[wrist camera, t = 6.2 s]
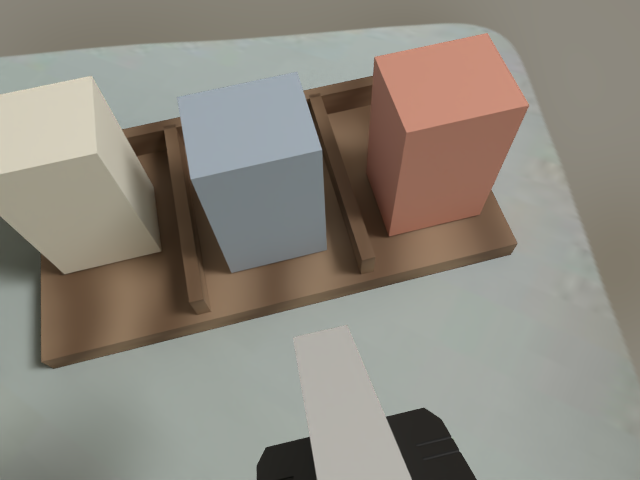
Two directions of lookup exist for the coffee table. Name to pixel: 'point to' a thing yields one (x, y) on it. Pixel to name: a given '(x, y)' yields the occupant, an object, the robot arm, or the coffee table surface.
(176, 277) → the wooden compartment tray
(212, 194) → the light blue block
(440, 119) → the salmon pink block
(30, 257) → the coffee table surface
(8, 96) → the cream rectangular block
